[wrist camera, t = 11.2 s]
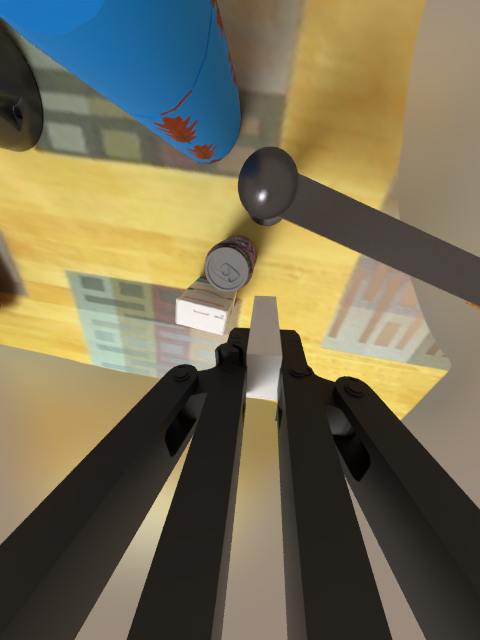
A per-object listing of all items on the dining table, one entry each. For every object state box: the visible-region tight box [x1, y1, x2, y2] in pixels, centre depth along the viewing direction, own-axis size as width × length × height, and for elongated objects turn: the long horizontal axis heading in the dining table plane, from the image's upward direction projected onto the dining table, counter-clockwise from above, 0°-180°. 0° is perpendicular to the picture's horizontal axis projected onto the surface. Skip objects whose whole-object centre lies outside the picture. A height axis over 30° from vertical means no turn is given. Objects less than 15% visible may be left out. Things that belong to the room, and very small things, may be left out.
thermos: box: [0, 0, 241, 164], centre depth 17 cm, size 11×11×25 cm
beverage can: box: [205, 236, 257, 292], centre depth 31 cm, size 7×7×12 cm
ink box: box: [176, 278, 237, 335], centre depth 36 cm, size 8×5×12 cm, turn 78°
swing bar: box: [238, 147, 480, 309], centre depth 16 cm, size 28×4×4 cm, turn 69°
